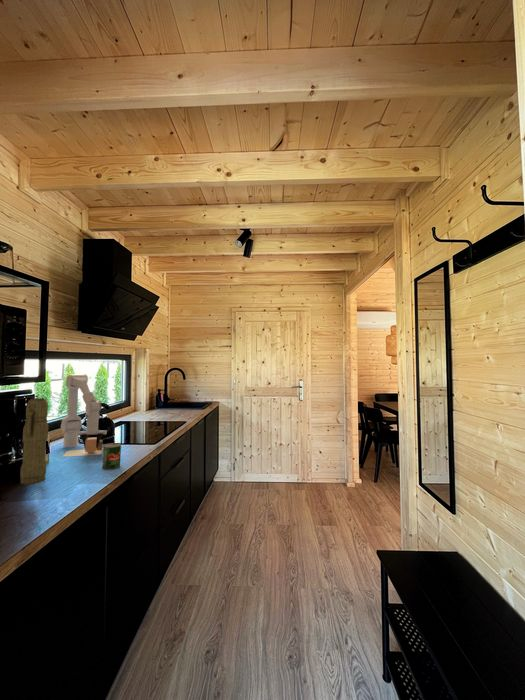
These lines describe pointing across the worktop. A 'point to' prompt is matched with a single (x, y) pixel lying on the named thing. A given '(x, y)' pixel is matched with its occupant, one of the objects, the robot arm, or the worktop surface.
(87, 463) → the worktop surface
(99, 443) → the walnut post
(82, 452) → the board
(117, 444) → the canned tomato
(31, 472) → the tan tall block
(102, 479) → the worktop surface
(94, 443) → the tan wooden block
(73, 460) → the worktop surface
